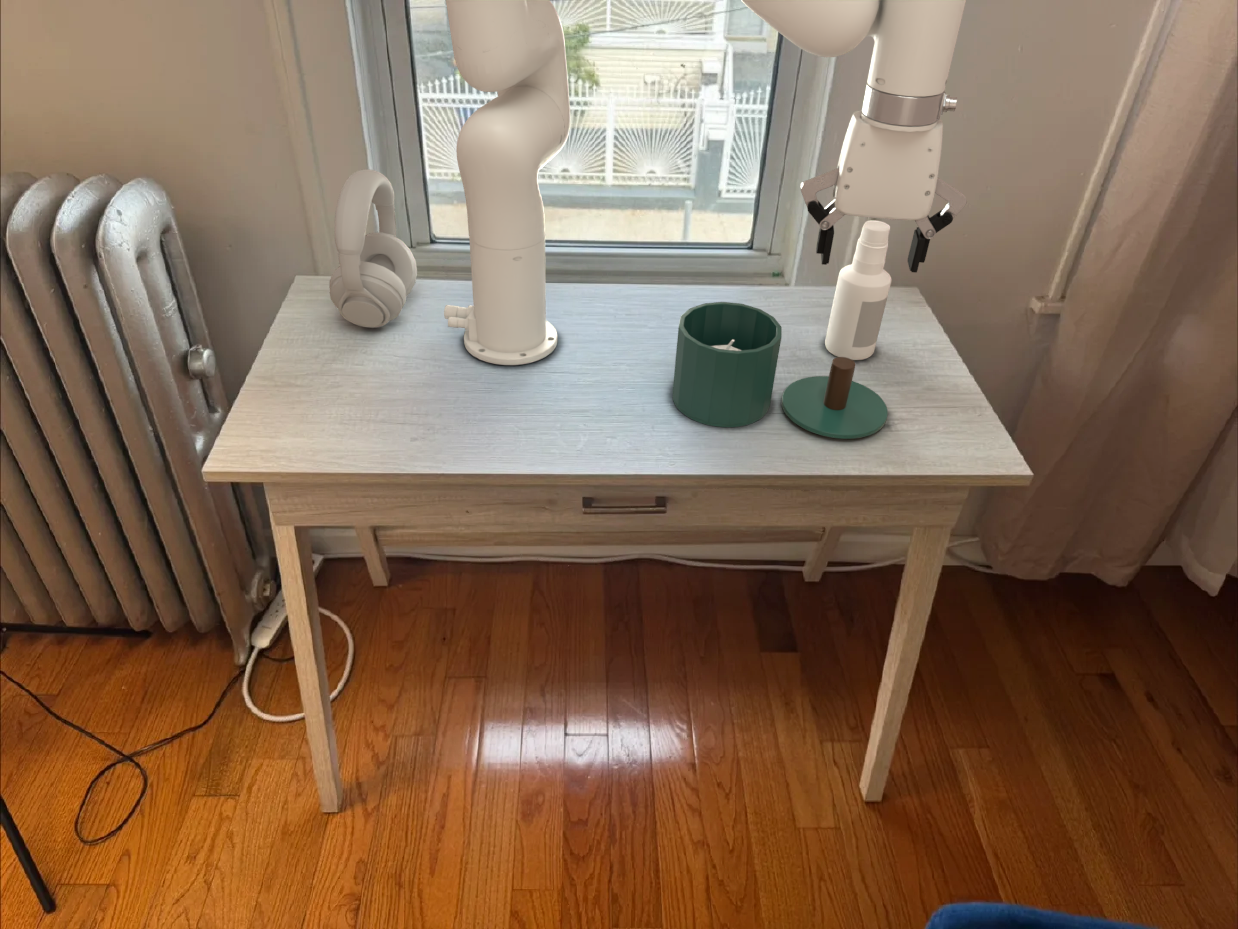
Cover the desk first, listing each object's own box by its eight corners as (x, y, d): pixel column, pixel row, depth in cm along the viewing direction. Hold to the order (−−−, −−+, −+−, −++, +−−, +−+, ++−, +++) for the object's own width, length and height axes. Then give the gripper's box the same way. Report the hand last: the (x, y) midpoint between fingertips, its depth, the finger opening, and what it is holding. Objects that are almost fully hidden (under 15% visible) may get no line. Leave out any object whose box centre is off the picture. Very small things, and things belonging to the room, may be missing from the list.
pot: (668, 421, 112) (675, 346, 106) (677, 368, 122) (683, 297, 115) (768, 432, 111) (781, 357, 105) (769, 378, 121) (781, 307, 114)
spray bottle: (874, 364, 125) (905, 239, 114) (823, 357, 125) (849, 232, 114) (873, 339, 130) (903, 218, 119) (824, 333, 131) (849, 211, 120)
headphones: (398, 349, 123) (381, 205, 110) (322, 344, 123) (296, 199, 111) (429, 285, 137) (417, 151, 125) (361, 280, 137) (342, 147, 125)
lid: (780, 436, 111) (790, 385, 106) (780, 378, 121) (789, 330, 116) (890, 448, 109) (904, 398, 105) (881, 389, 120) (893, 341, 115)
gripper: (983, 100, 94) (942, 255, 105) (813, 88, 96) (789, 242, 106) (996, 123, 89) (952, 285, 99) (815, 110, 90) (790, 271, 101)
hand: (867, 263), depth 103 cm, fingers open, 9 cm apart
